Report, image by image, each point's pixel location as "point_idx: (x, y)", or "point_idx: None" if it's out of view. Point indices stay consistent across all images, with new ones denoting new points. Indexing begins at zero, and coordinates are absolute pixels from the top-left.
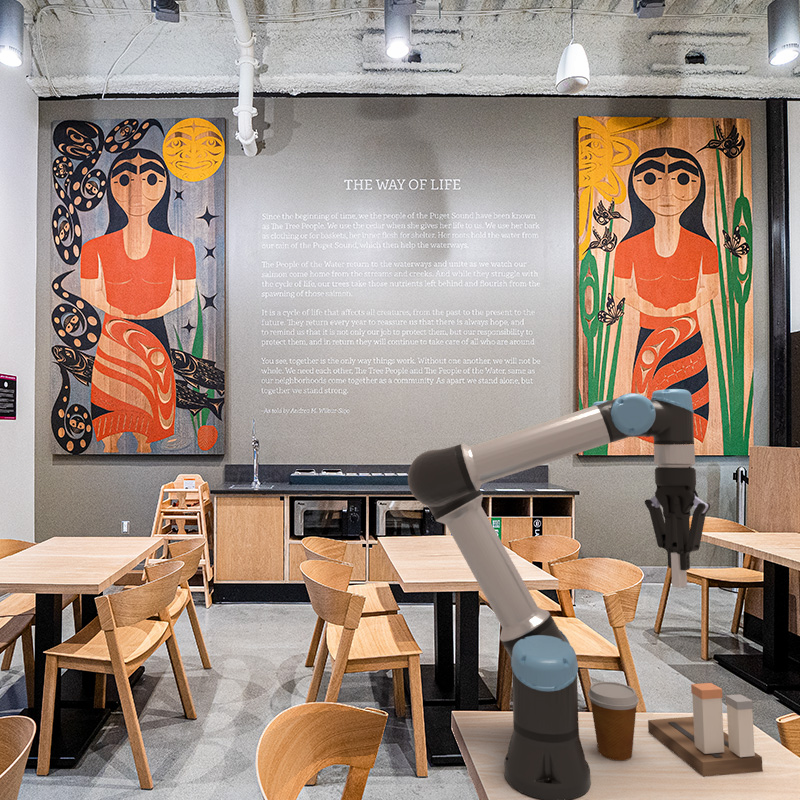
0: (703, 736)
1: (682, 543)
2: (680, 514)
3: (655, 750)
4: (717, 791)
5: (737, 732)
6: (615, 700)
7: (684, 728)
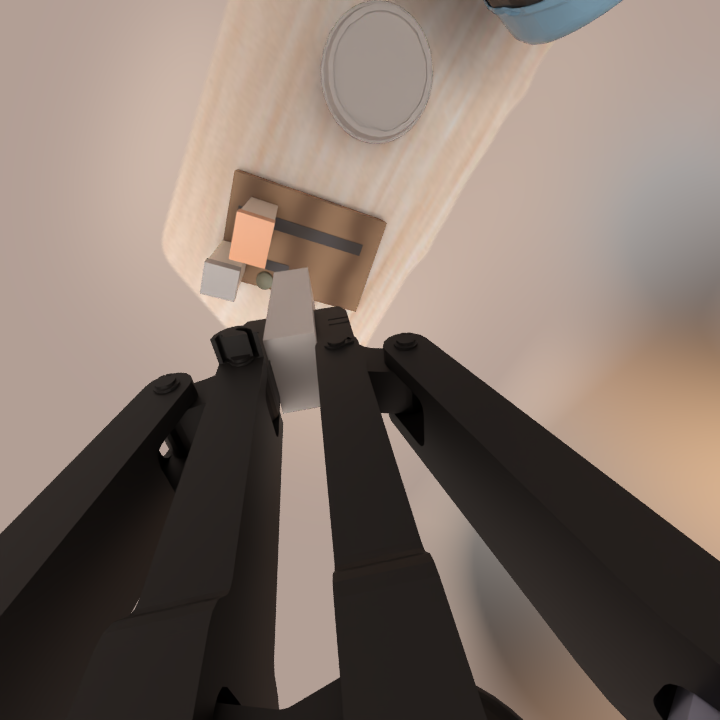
0: (249, 200)
1: (217, 394)
2: (82, 694)
3: (333, 175)
4: (193, 147)
5: (219, 249)
6: (338, 28)
7: (336, 252)
